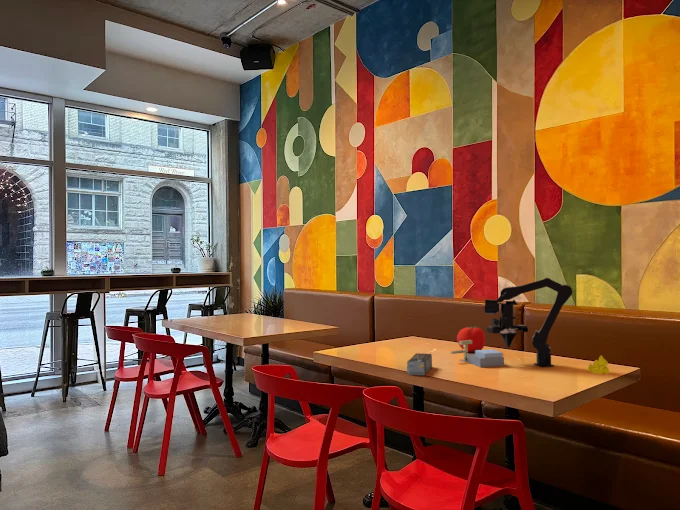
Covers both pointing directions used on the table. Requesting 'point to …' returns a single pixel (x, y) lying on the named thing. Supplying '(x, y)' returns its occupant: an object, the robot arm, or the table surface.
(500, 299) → the robot arm
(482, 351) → the cover
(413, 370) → the beverage carton
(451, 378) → the table surface
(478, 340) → the tomato
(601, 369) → the yellow crystal cluster
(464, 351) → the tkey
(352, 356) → the table surface
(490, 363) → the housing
